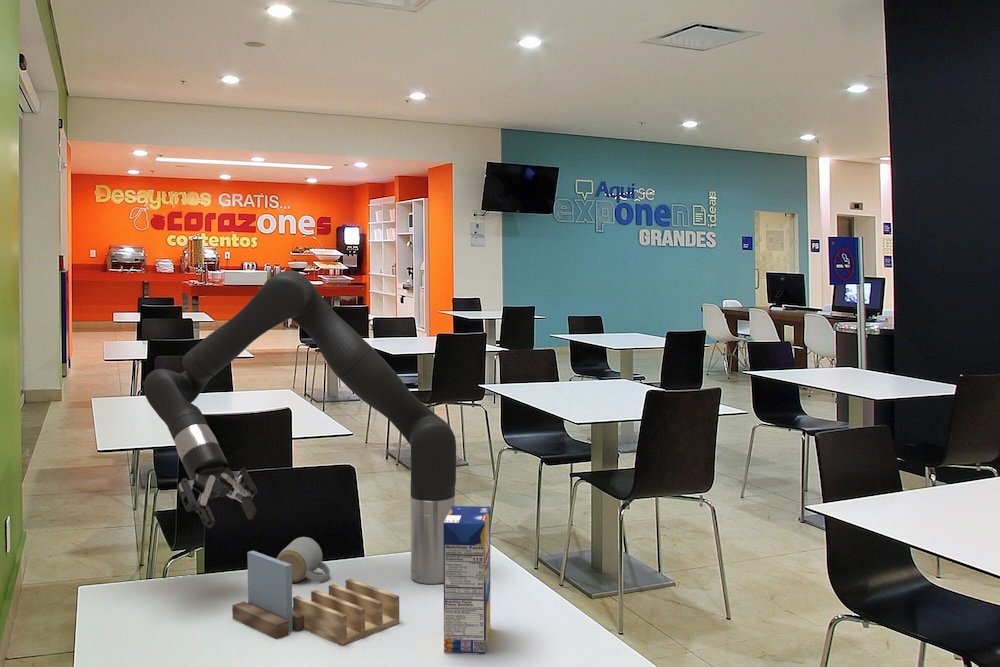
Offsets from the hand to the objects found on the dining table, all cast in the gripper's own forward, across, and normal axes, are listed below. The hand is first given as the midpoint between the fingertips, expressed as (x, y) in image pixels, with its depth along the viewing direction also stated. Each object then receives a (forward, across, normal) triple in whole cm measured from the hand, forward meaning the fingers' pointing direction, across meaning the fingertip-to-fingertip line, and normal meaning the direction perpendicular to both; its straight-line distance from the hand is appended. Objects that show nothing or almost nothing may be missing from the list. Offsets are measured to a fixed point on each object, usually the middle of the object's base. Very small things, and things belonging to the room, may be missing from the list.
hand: (232, 521), depth 163 cm
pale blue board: (+20, 0, +3) cm, 20 cm away
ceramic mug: (+9, +19, +14) cm, 25 cm away
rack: (+28, +9, -4) cm, 29 cm away
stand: (+20, 0, +3) cm, 20 cm away
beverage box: (+43, +18, -20) cm, 50 cm away
